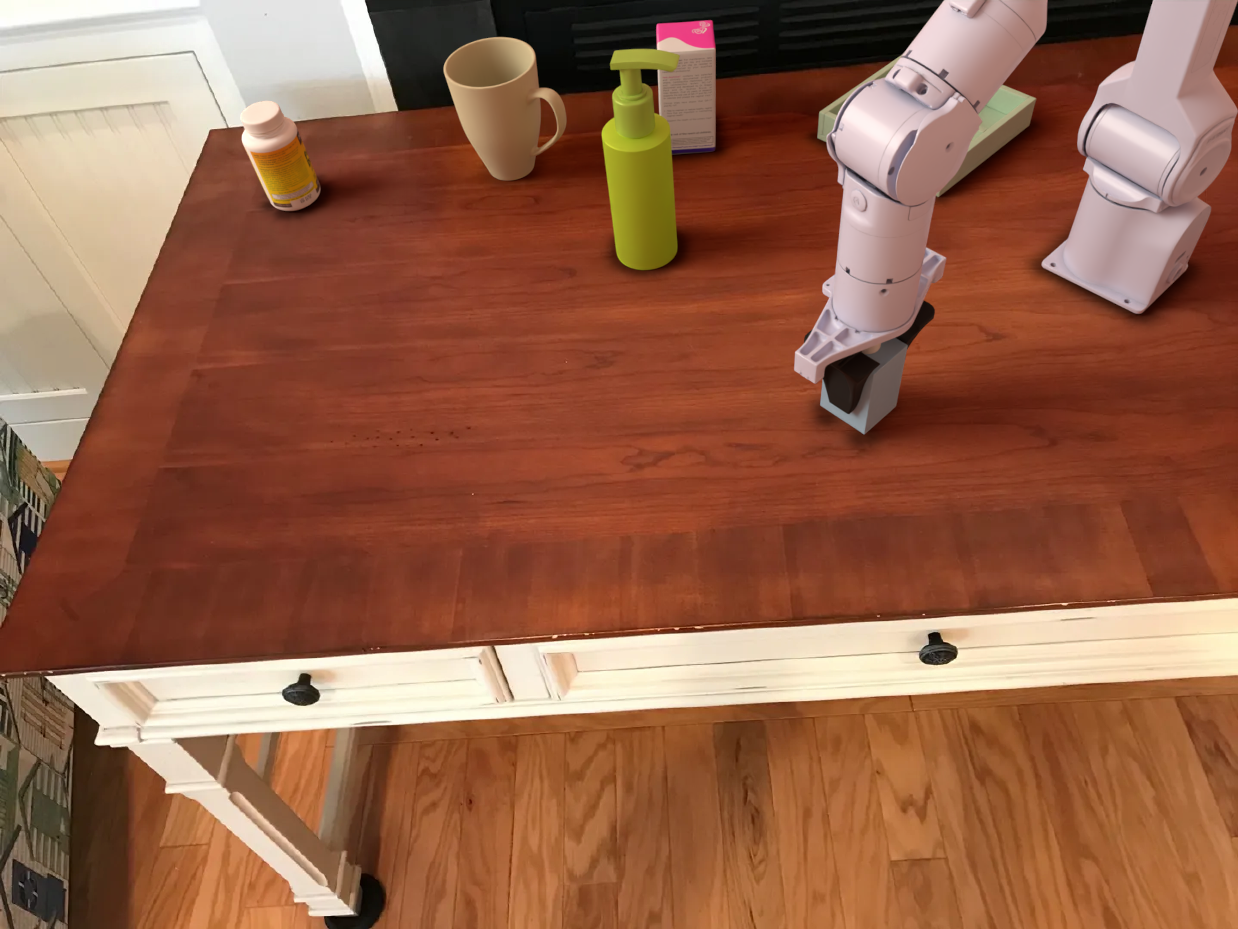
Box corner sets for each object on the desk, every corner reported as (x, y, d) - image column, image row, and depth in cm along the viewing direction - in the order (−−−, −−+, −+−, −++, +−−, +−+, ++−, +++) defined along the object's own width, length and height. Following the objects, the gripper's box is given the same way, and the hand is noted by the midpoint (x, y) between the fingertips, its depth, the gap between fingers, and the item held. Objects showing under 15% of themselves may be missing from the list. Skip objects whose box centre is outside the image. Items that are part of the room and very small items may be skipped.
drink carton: (896, 406, 78) (910, 335, 72) (864, 435, 77) (875, 365, 71) (851, 378, 81) (861, 307, 74) (819, 405, 79) (826, 335, 73)
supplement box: (717, 152, 102) (715, 48, 93) (661, 156, 103) (653, 54, 94) (714, 119, 106) (712, 17, 97) (660, 123, 106) (652, 22, 97)
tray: (1029, 125, 100) (1036, 98, 98) (938, 197, 95) (943, 170, 92) (907, 73, 108) (911, 47, 105) (817, 137, 102) (818, 111, 100)
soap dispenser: (683, 272, 92) (672, 76, 76) (611, 268, 93) (585, 74, 77) (692, 231, 95) (683, 35, 79) (622, 228, 96) (600, 34, 80)
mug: (472, 205, 101) (445, 100, 91) (468, 148, 107) (442, 44, 97) (577, 187, 101) (561, 81, 91) (567, 132, 107) (550, 27, 98)
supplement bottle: (331, 196, 104) (297, 110, 96) (286, 220, 102) (247, 135, 94) (307, 173, 107) (271, 88, 99) (261, 197, 105) (222, 113, 97)
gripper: (899, 180, 71) (878, 316, 82) (763, 284, 66) (760, 414, 77) (983, 221, 67) (949, 357, 78) (846, 334, 62) (830, 463, 73)
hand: (860, 388), depth 77 cm, fingers closed on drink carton, 4 cm apart
